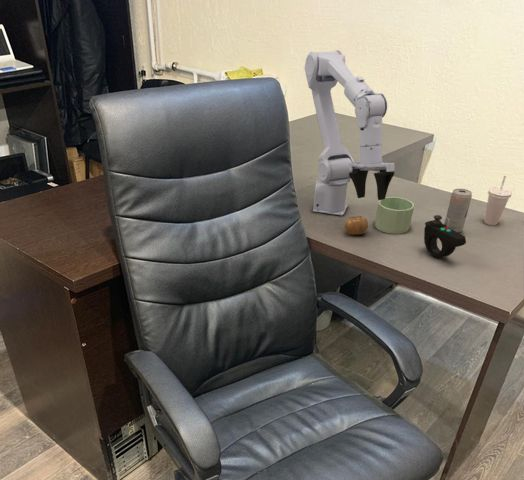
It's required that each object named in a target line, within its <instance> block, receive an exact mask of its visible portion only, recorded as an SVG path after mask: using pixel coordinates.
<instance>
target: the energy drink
mask: <svg viewBox="0 0 524 480" xmlns="http://www.w3.org/2000/svg"><path fill="white" fill-rule="evenodd" d="M472 194H473V192H472V191H471V190H469V189H466V188H455V189H453V191H452V192H451V195H450V199H449V203H448V207H447V212H446V215H445V219H444V223H443V224H444V225H446V226H448V227H449V228H450V229H452V230H454V231H456V232H458V233H459V234H461V235H462V233H463V231H464V227H465V224H466V218H467V216H468V212H469V209H470V205H471V201H472V197H473V195H472Z"/></svg>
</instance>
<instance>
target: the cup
mask: <svg viewBox="0 0 524 480" xmlns="http://www.w3.org/2000/svg"><path fill="white" fill-rule="evenodd" d="M414 209H415V204H414V202H413V201H412V200H409V199H407V198H403V197H399V196H386V197H385V199H383V200H378V202H377V208H376V214H375V220H374V227H375V229H377V230H378V231H380V232H383V233H387V234H393V235H400V234H404V233H407V232H408V231H410V228H411V223H412V218H413V213H414Z"/></svg>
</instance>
